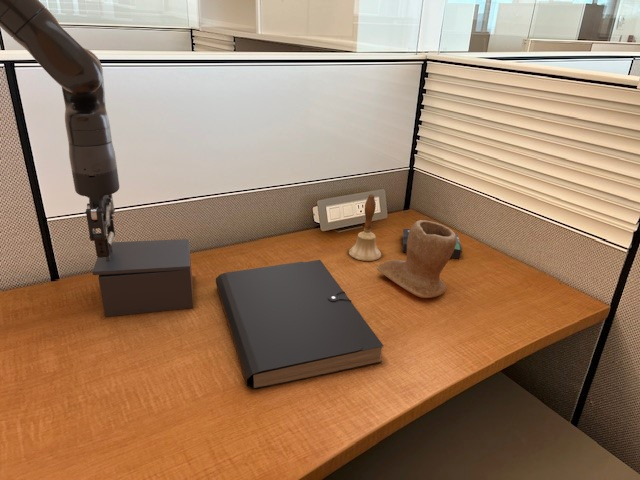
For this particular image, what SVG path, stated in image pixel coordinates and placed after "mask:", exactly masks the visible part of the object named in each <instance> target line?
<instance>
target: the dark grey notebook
mask: <svg viewBox="0 0 640 480" xmlns="http://www.w3.org/2000/svg"><path fill="white" fill-rule="evenodd" d="M215 285H216V288H217V291H218V295H219V298H220V301H221V305H222V308H223V312H224V314H225V319H226V322H227V325H228V328H229V331H230V335H231V338H232V341H233V344H234V348H235V351H236V355H237V359H238V361H239V366H240V369H241V371H242V375H243V378H244V381H245V384H246V386H247V387H248V388H249V389H251V390H260V389H264V388H270V387H274V386H279V385H283V384H287V383H288V384H289V383H292V382H297V381H302V380H306V379H310V378H315V377H316V378H317V377H320V376H325V375H330V374H334V373H339V372H343V371H349V370H353V369H357V368H361V367H366V366H371V365H375V364H380V363H383V361H382V353H383V347H384V344H383V343H382V341H381V340H380V339H379V337H378V336H377V334H375V332H374V330H373V329H372V328H371V326H370V325H369V324H368V322H367V320H365V319H364V316H362V314H361V313H360V311H359V310H358V309H357V308H356V306H355V305H354V303H353V301H352V300H351V299H350V297H348V295H347V294H346V291H344V290H343V289H342V287H341V285H340V284H339V283H338V282H337V280H336V279H335V278H334V277H333V275H332V274H331V273H330V271H329V269H328V268H327V267H326V265H324V263H323V262H322V260H321V259H315V260H309V261H297V262H290V263H289V262H288V263H284V264H283V263H282V264H276V265H269V266H263V267H255V268H247V269H240V270H234V271H228V272H227V271H226V272H223V273H220V274H218V275H217V276H216V278H215Z"/></svg>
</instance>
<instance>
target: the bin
mask: <svg viewBox="0 0 640 480" xmlns="http://www.w3.org/2000/svg"><path fill="white" fill-rule="evenodd" d="M189 251H190V252H191V247H190V244H189ZM97 279H98V285H99V289H100V290H99V291H100V295H101V296H100V297H101V302H102V307H103V312H104V317H106V318H107V317H108V318H109V317H118V316H119V317H120V316H129V315H137V314H138V315H139V314H147V313H155V312H157V313H158V312H165V311H166V312H168V311H176V310H186V309H187V310H188V309H193V308H194V292H193V291H194V289H193V287H194V286H193V272H192V259H191V256H190V270H175V271H158V272H140V273H123V274H106V275H98V277H97Z"/></svg>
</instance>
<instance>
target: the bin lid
mask: <svg viewBox="0 0 640 480" xmlns="http://www.w3.org/2000/svg"><path fill="white" fill-rule="evenodd" d="M107 234H108V244H109V251H110V255H109V257H101V258H99V257H97V256H96V260H95V263H94V266H93V270H92V276H99V275H106V274H123V273H140V272H158V271H175V270H190V257H191V250H190V251H189V245H190V239H189V238H183V239H182V238H180V239H178V238H177V239H159V240H157V239H156V240H155V239H154V240H133V241H114V238H115V237H114V233H113V232H111V231H107Z"/></svg>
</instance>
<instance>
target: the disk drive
mask: <svg viewBox="0 0 640 480" xmlns="http://www.w3.org/2000/svg"><path fill="white" fill-rule="evenodd" d="M402 231H403V232H402V252H403V253H406V254H407V240H408V234H409V231H410V228H403V230H402ZM455 235H456V246H455V249H454V251H453V253H452V255H451V257H450V258H453V259H455V258H456V259H461V257H462V251H463V250H462V249H463V248H462V245H461V244H462V243H461V241H460V238H459V234H455Z"/></svg>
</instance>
